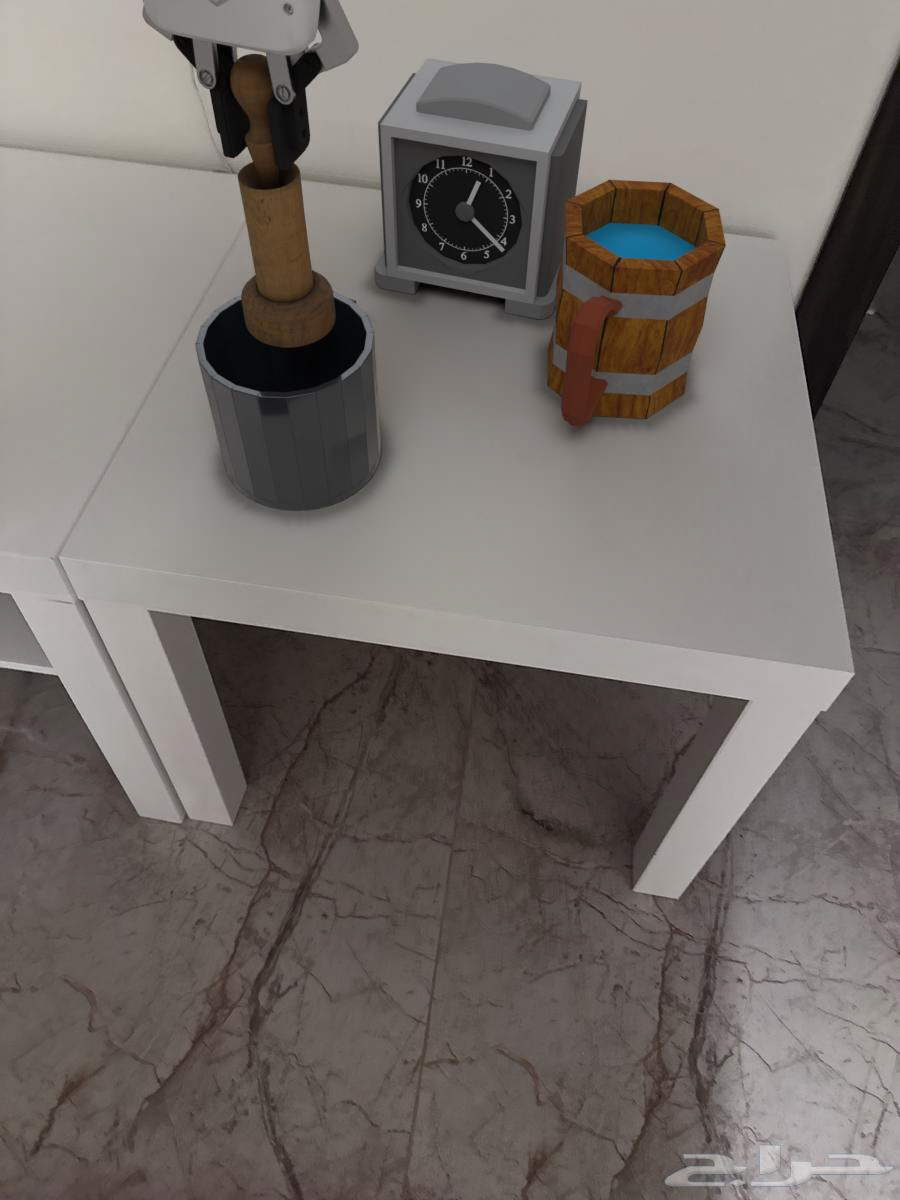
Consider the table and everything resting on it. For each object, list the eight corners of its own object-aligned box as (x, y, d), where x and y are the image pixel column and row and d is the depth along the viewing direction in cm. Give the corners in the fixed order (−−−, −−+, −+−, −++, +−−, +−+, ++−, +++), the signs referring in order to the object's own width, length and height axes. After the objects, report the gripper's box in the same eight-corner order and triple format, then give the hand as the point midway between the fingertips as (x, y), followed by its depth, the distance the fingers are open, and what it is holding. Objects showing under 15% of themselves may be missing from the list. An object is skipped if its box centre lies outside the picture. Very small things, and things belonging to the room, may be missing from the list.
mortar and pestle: (228, 334, 67) (172, 70, 52) (272, 284, 70) (230, 24, 56) (310, 357, 65) (276, 93, 51) (351, 306, 69) (329, 45, 54)
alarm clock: (371, 286, 93) (359, 99, 79) (412, 216, 101) (409, 34, 86) (549, 321, 90) (571, 133, 76) (577, 247, 98) (603, 63, 83)
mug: (574, 310, 91) (595, 162, 79) (706, 351, 88) (749, 203, 76) (490, 433, 81) (499, 285, 69) (636, 485, 77) (673, 338, 65)
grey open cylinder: (196, 485, 77) (162, 371, 67) (268, 386, 84) (247, 270, 74) (342, 528, 74) (328, 416, 64) (403, 422, 82) (399, 307, 72)
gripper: (11, -237, 42) (120, 156, 57) (337, -194, 39) (362, 211, 54) (103, -273, 47) (182, 102, 61) (403, -237, 43) (410, 150, 58)
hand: (266, 150), depth 58 cm, fingers closed on mortar and pestle, 2 cm apart
